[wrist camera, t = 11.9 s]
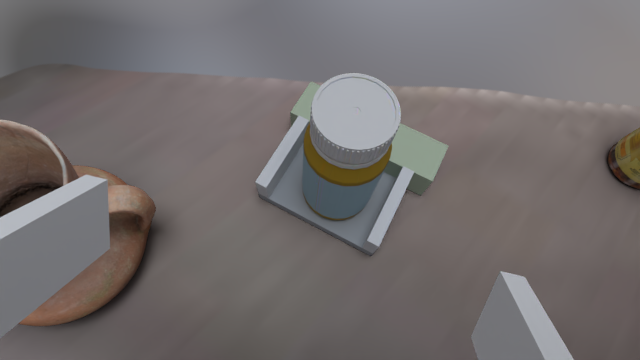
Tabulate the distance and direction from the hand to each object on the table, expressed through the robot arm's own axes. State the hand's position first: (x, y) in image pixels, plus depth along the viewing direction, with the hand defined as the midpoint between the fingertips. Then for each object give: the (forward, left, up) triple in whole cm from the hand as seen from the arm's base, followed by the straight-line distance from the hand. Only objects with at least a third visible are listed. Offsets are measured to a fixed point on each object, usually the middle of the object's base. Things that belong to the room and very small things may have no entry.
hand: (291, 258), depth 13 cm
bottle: (+2, -12, -24) cm, 27 cm away
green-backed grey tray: (+2, -14, -25) cm, 29 cm away
